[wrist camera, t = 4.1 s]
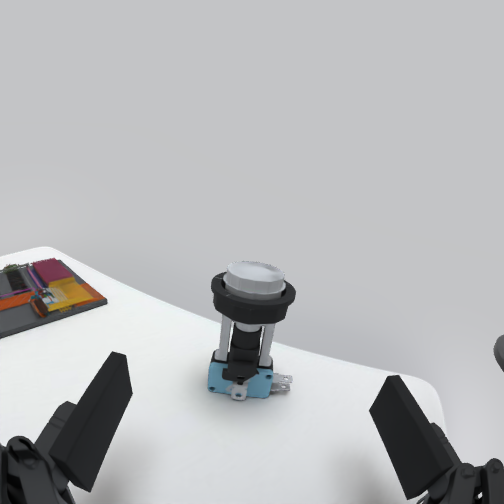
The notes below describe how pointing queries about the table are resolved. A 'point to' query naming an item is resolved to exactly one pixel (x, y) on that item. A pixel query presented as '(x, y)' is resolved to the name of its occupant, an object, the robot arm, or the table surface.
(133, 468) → the table surface
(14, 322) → the circuit board
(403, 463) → the robot arm
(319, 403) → the table surface
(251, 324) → the push button
